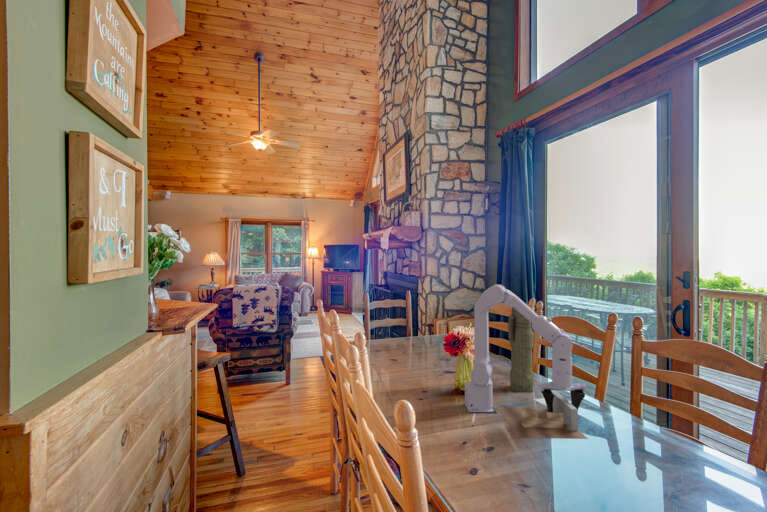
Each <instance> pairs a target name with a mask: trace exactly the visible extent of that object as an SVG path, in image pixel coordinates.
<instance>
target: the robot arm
mask: <svg viewBox="0 0 767 512" xmlns="http://www.w3.org/2000/svg"><path fill="white" fill-rule="evenodd" d="M502 303H503V304H502ZM525 303H526V302H525ZM525 303H524V301H523V300H522V299H521V298H520V297H519V296H517V294H515V293H513V292H512V290H509V289H507V288H506V286H504V285H503V284H497V283H495V284H493V285H492V286H489V287H488V288H486V289H485V290H484V291H483V292H482V293H481V295H480V297H479V298H478V300H477V301H476V302H475V304H474V306H473V307H474V308H473V313H474V314H473V315H474V316H473V317H474V318H473V319H474V357H473V358H474V359H473V367H472V369H471V371H470V379H471V381H467V382H465V383H464V404H465V407H466V409H467V411H468V412H469V413H497V411H496V410H495V408H494V405H493V403H494V401H493V400H494V398H493V395H494V393H493V392H494V391H493V388H494V387H493V385H494V383H493V380H492V379H491V376H492V374H493V371H494V370H493V369H494V368H493V366H492V364H491V357H490V350H489V349H490V346H489V345H490V344H489V343H490V342H489V341H490V340H489V339H490V337H489V333H490V332H489V331H490V330H489V328H490V327H489V326H490V325H489V312H490V310H491V309H493V308H494V307H495V306H498V305H500V304H502V305H503V306H504V307H505V306H506V307H511V308H512V307H513V308H515V309H516V310H517V311H518V312H519V313H521V314H522V315H523V316H524V317H526V318H527V319H528V320H529V321H530V322H532V328H533V329H534V332H536V333H537V334H538V335H539V336H541V338H543V339H544V340H545V341H546V342H548V343H550V344H551V346H552V348H553V349H552V351H553V352H552V355H551V357H552V359H551V360H552V361H551V370H552V374H551V376H552V379H551V381H546V382H538V383H537V386H538V387H537V388H538V390H539V391H540V392H541V394H542V396H543V398H544V399H545V401H546V405H547V406H546V407H547V408H546V409H548V412H553V399H554V395H553V394H552V392H551V390H555V391H565V392H569V393H570V399H571V400H570V401H571V404H572V405H573V406H574V407H575V408H577V409H578V410H579V408H580V405H581V404H582V401H583V400H584V399H585V397H586V394H585V392H587V389H588V388H587V387H588V386H587V385H586V384H585V383H580V382H579V383H578V382H573V357H572V353H573V352H572V351H573V348H574V345H573V341H572V338H571V336H570V335H568V333H567V332H565V331H564V329H563V328H559V327H558V326H557V325H556V324H555V323H553V322H552V318H550V317H549V316H547V317H546V316H545V315H538V313H536V312H535V311H534V310H533V309H532V308H531V309H530V308H529V307H528V306H527V305H526V304H525Z"/></svg>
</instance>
